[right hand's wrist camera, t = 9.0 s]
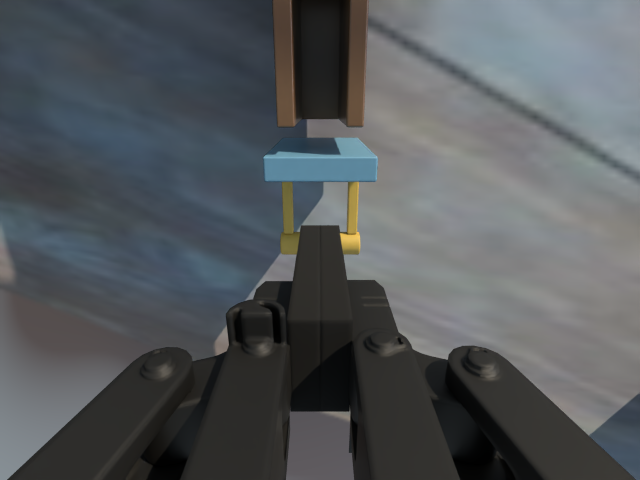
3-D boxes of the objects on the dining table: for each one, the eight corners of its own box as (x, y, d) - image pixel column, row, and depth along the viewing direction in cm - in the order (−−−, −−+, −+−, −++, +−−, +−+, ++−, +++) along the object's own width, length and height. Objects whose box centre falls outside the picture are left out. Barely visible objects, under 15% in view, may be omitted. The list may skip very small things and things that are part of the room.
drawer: (354, 227, 28) (370, 286, 19) (285, 227, 28) (269, 286, 19) (370, -213, 20) (414, -482, 11) (269, -213, 20) (227, -481, 11)
